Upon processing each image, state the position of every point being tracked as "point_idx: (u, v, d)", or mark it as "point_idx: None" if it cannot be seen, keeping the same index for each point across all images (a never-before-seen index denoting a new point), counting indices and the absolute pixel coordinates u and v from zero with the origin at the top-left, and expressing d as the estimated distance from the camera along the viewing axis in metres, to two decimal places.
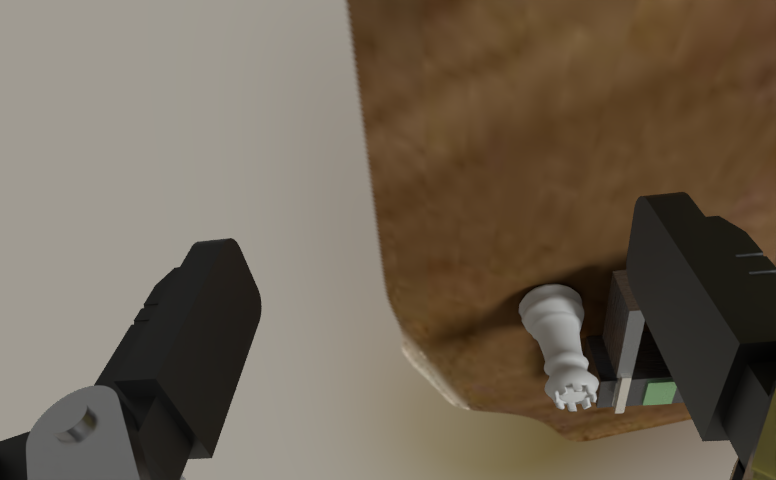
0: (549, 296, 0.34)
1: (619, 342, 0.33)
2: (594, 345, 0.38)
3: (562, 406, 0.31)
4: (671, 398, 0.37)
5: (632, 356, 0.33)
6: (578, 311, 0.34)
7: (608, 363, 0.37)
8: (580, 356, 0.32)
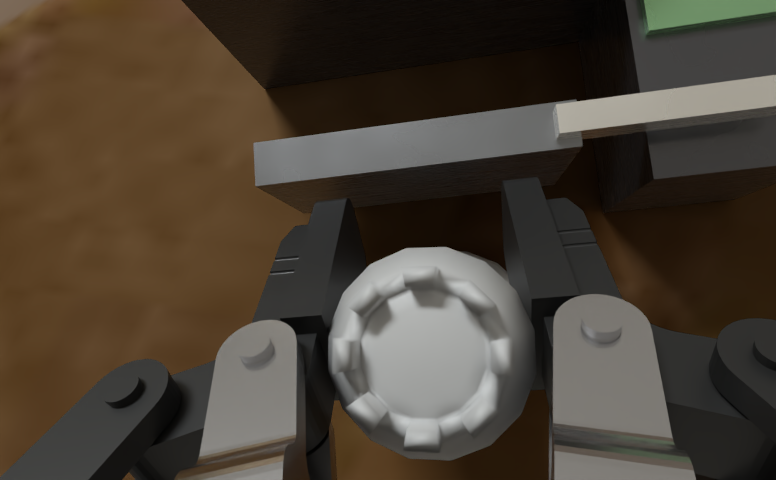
0: None
1: (425, 172, 0.11)
2: (609, 194, 0.14)
3: (472, 408, 0.07)
4: None
5: (462, 126, 0.11)
6: None
7: (625, 156, 0.12)
8: None
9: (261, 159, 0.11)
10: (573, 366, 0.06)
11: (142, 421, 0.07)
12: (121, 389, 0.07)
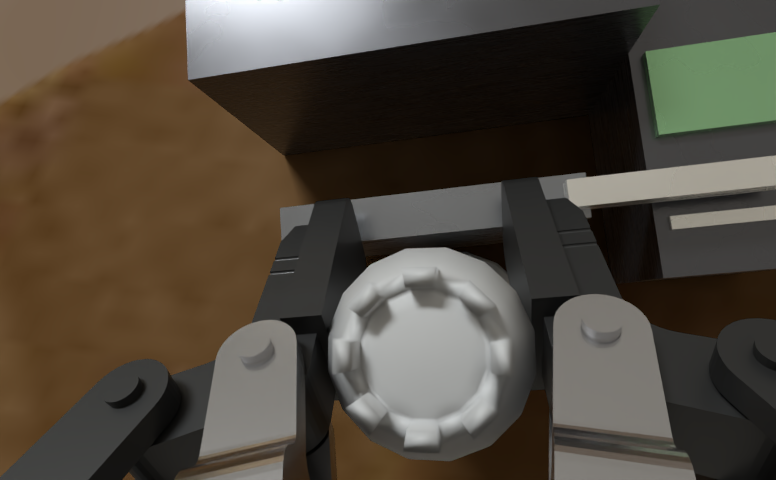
0: None
1: (442, 236, 0.12)
2: (619, 270, 0.14)
3: (472, 409, 0.07)
4: (750, 40, 0.11)
5: (477, 196, 0.11)
6: None
7: (635, 243, 0.13)
8: None
9: (287, 224, 0.12)
10: (573, 366, 0.06)
11: (142, 421, 0.07)
12: (121, 389, 0.07)
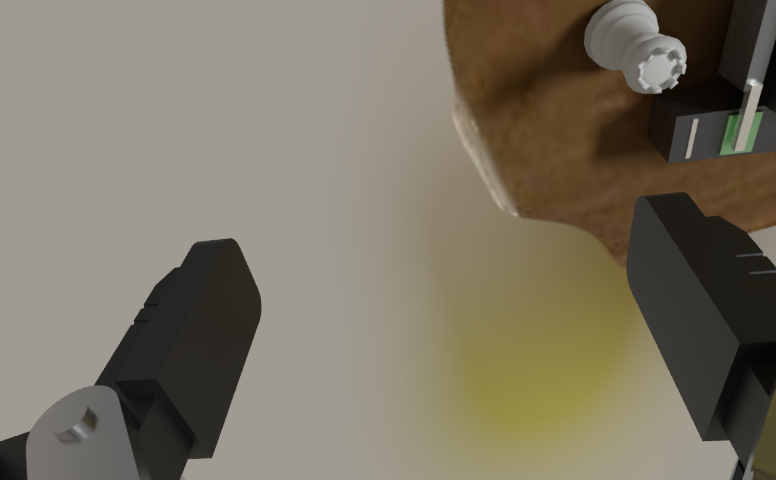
0: (621, 3, 0.32)
1: (752, 35, 0.30)
2: (664, 97, 0.36)
3: (646, 85, 0.28)
4: (752, 142, 0.34)
5: (767, 51, 0.30)
6: (653, 19, 0.32)
7: (682, 105, 0.34)
8: (663, 36, 0.29)
9: None
10: None
11: None
12: None
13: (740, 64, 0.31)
